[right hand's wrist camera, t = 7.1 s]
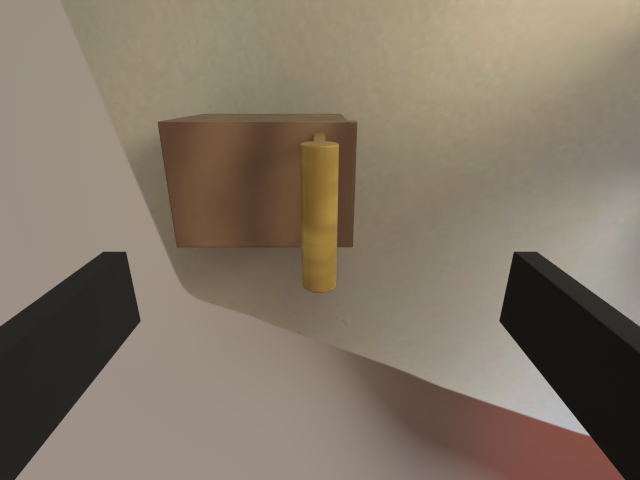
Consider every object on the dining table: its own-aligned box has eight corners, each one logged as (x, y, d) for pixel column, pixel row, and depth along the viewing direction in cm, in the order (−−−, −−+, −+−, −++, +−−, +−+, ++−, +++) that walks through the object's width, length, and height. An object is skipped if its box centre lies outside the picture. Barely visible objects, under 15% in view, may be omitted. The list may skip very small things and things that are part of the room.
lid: (355, 120, 25) (373, 133, 17) (351, 242, 29) (364, 302, 20) (163, 120, 25) (87, 133, 17) (181, 242, 29) (125, 302, 20)
